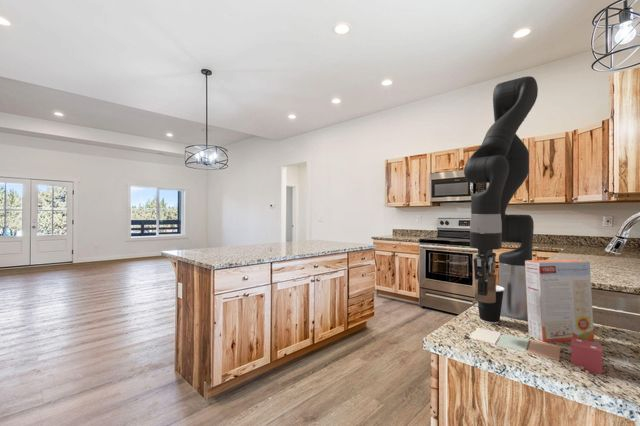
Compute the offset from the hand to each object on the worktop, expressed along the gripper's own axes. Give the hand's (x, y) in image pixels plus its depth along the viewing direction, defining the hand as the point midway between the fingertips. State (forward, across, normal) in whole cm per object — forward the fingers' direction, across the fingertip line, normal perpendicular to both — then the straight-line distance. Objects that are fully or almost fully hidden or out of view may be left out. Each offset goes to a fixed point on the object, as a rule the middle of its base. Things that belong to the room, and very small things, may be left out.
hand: (485, 292), depth 82 cm
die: (+12, +2, +21) cm, 24 cm away
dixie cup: (+13, -12, -1) cm, 18 cm away
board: (+12, +1, +7) cm, 14 cm away
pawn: (+2, 0, 0) cm, 2 cm away
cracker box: (+12, -12, +16) cm, 23 cm away
